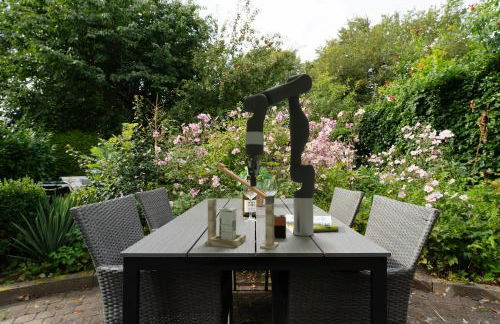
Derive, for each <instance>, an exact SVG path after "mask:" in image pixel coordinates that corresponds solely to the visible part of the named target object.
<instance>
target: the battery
mask: <svg viewBox="0 0 500 324" xmlns="http://www.w3.org/2000/svg"><path fill="white" fill-rule="evenodd" d="M286 238H287V217H286V216H285V214H280V215H278V216H277V215H276V214H274V239H286Z"/></svg>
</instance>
